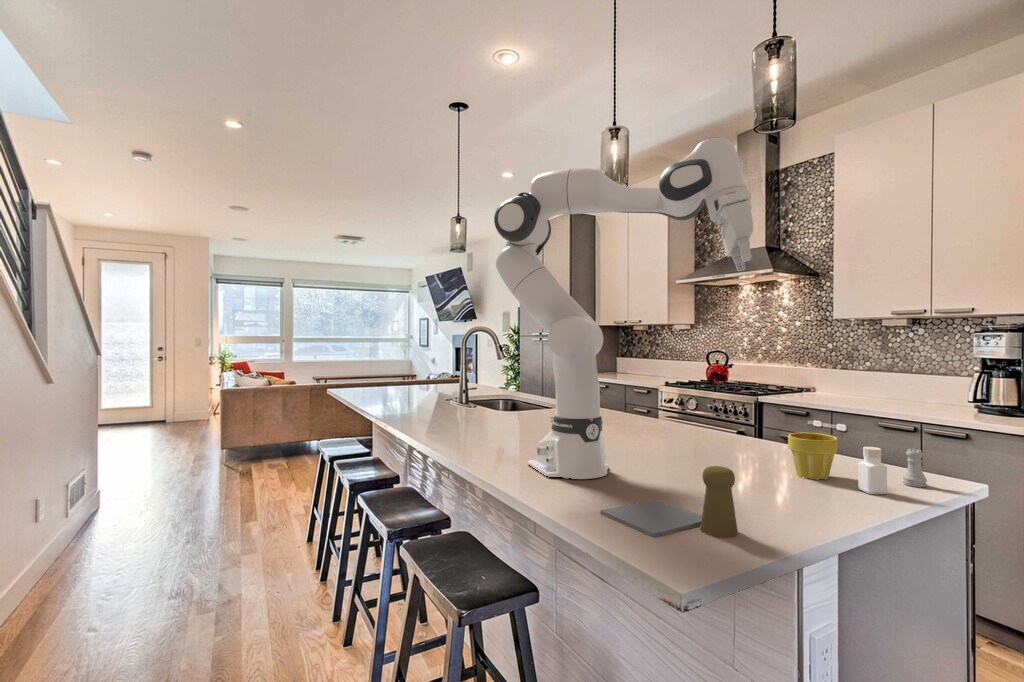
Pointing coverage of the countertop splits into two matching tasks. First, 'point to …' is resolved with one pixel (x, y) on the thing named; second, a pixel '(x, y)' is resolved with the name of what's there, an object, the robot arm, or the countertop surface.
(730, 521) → the olive chess pawn
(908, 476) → the rook chess piece
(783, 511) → the countertop surface
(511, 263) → the robot arm
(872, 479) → the salt shaker
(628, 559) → the countertop surface
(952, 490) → the countertop surface
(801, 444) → the plant pot
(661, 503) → the plate
